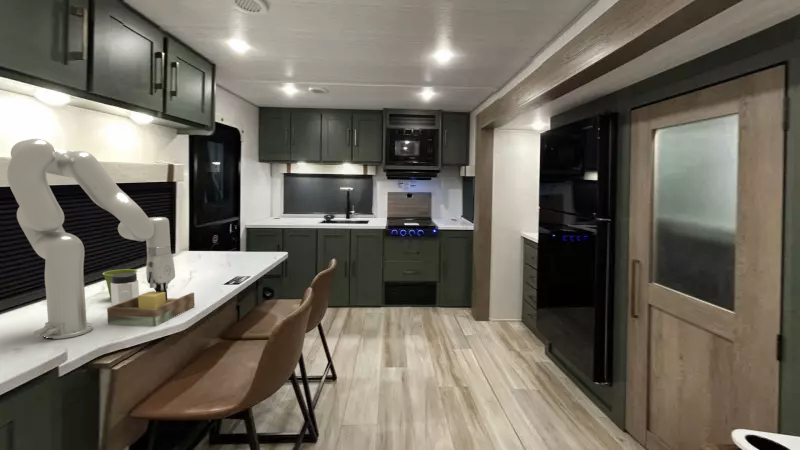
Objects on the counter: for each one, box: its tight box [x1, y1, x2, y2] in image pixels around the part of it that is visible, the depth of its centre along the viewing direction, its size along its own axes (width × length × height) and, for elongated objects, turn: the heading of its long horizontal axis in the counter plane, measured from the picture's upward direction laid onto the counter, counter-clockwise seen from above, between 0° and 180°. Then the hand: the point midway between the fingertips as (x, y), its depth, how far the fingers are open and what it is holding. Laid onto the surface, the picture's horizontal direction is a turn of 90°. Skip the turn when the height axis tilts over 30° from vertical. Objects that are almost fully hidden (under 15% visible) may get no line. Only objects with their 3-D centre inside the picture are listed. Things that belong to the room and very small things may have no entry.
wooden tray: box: [106, 290, 195, 327], centre depth 154 cm, size 22×17×6 cm
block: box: [138, 291, 166, 309], centre depth 152 cm, size 6×6×5 cm
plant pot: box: [102, 268, 138, 300], centre depth 174 cm, size 12×12×11 cm
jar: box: [110, 272, 140, 306], centre depth 165 cm, size 9×8×12 cm
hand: (161, 300), depth 158 cm, fingers closed
